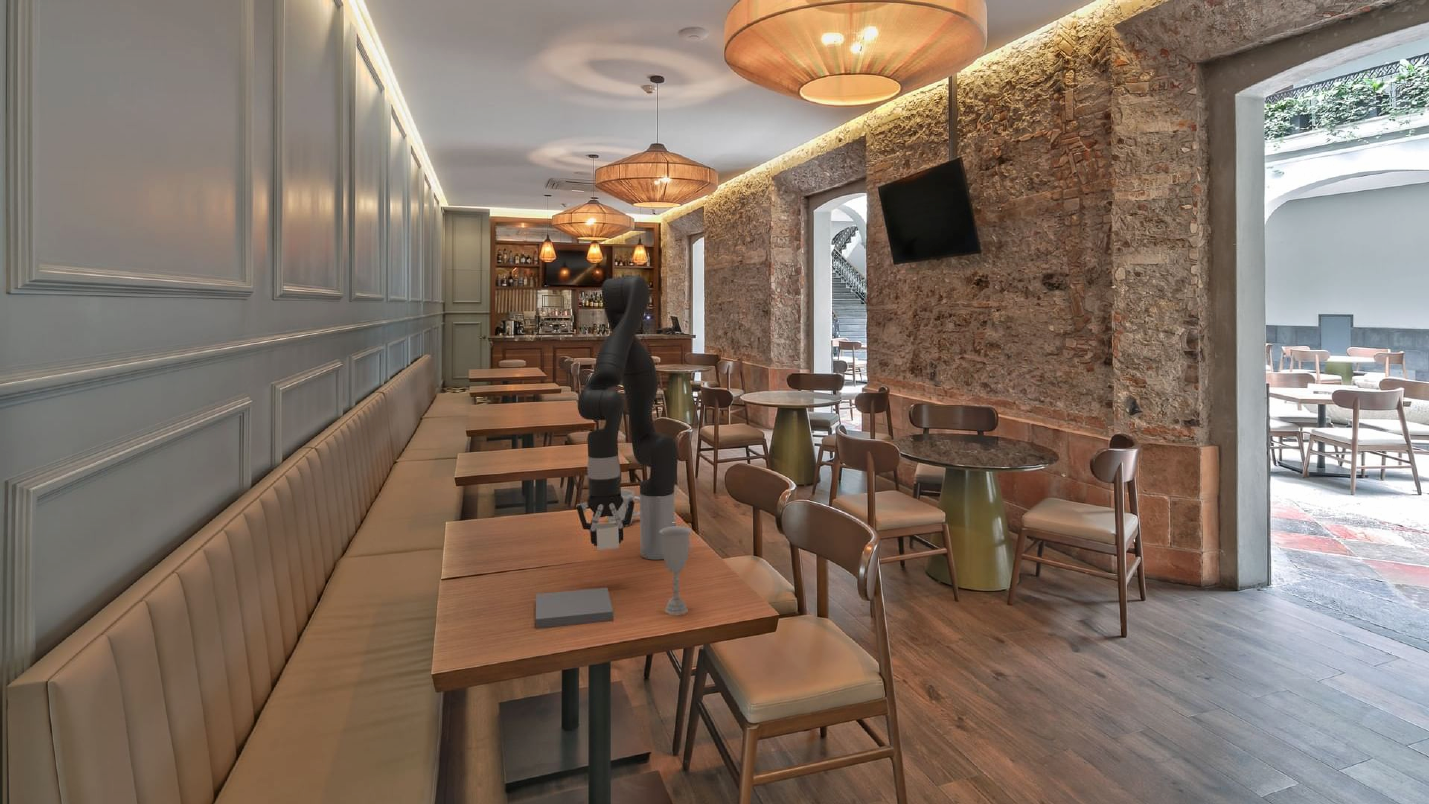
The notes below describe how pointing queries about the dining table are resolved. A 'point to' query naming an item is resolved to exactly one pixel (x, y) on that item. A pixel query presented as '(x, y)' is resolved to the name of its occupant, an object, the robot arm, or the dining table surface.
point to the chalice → (675, 561)
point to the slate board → (573, 607)
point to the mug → (622, 510)
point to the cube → (607, 535)
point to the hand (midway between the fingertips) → (607, 543)
